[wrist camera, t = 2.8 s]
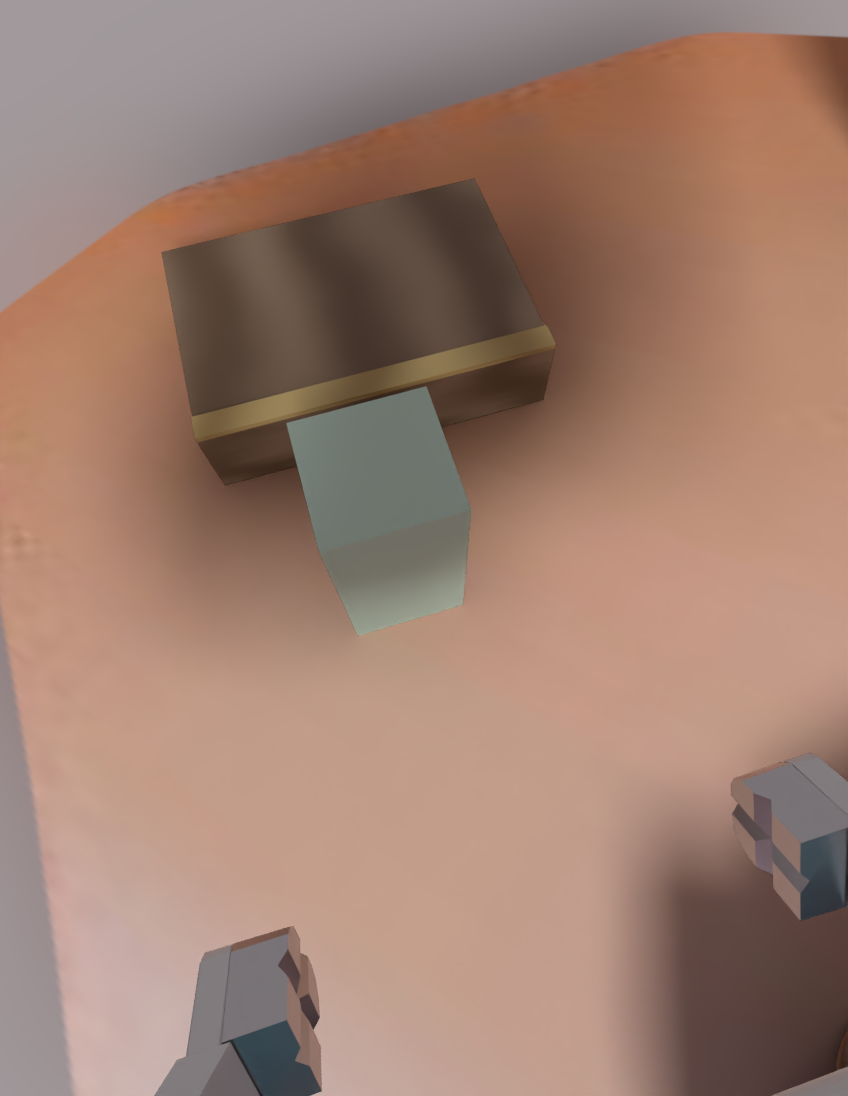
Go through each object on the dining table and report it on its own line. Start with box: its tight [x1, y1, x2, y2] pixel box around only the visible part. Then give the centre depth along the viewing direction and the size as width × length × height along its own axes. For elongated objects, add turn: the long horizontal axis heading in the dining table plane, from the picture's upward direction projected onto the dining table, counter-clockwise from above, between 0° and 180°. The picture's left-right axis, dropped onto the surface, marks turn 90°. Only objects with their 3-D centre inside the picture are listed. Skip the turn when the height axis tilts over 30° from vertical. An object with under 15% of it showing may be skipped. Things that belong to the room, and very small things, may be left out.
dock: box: [162, 178, 556, 485], centre depth 34 cm, size 17×12×4 cm
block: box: [286, 386, 471, 636], centre depth 26 cm, size 5×5×10 cm
